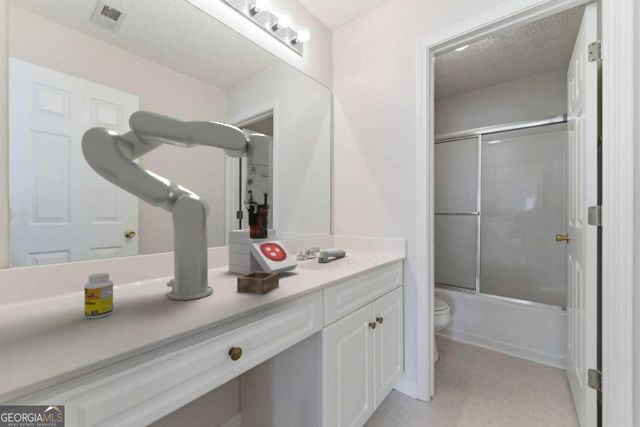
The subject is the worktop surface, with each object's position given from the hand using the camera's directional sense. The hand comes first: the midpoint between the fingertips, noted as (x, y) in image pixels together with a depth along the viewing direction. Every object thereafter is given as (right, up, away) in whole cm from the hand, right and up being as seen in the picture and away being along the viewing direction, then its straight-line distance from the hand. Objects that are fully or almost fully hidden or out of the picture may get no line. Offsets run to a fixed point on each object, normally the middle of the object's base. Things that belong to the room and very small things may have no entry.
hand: (258, 224), depth 91 cm
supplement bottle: (-35, -22, -23) cm, 47 cm away
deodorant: (0, -5, 0) cm, 5 cm away
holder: (0, -22, 0) cm, 22 cm away
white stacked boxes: (-5, -22, +27) cm, 35 cm away
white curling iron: (+28, -22, +58) cm, 68 cm away
